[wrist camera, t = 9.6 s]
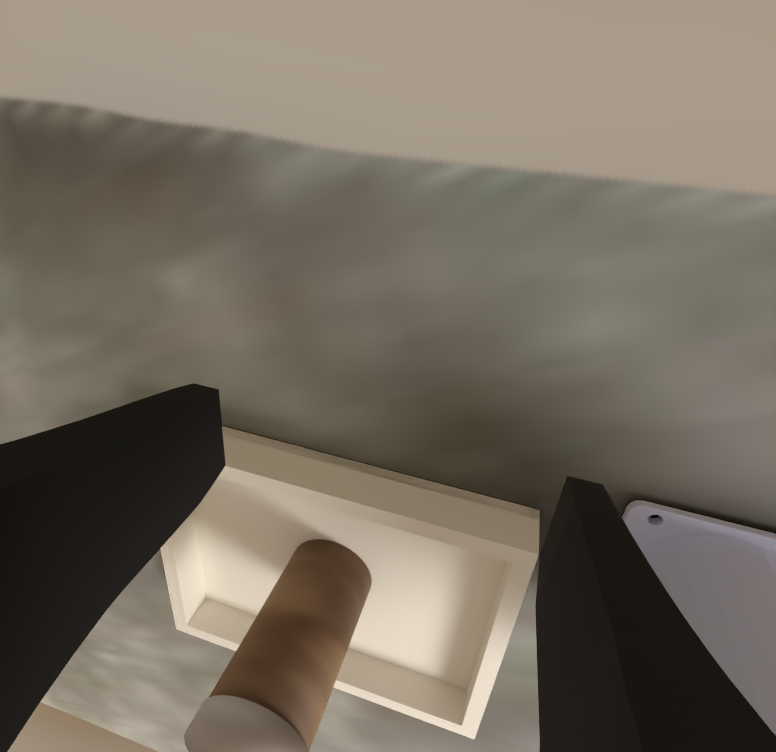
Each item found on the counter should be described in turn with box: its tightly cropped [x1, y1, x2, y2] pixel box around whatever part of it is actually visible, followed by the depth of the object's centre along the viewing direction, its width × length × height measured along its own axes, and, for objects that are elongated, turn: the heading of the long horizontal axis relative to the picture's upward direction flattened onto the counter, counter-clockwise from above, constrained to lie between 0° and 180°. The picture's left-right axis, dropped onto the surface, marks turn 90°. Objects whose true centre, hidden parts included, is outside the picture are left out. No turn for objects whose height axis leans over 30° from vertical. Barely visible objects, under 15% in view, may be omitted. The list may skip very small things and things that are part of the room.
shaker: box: [184, 539, 372, 752], centre depth 22 cm, size 5×5×9 cm
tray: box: [160, 426, 540, 739], centre depth 25 cm, size 18×14×2 cm
